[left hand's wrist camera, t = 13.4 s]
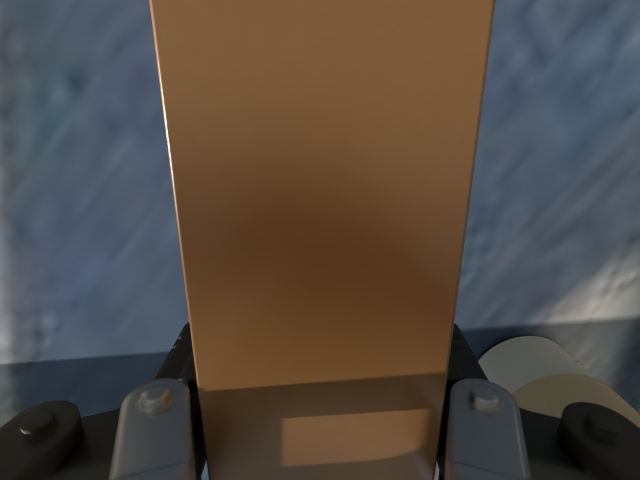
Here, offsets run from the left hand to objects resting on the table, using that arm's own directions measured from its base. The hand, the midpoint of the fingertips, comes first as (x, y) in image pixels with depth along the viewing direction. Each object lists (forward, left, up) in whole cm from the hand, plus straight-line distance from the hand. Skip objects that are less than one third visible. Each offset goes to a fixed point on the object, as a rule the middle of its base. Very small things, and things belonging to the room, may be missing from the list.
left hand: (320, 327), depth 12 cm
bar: (-7, +22, -2) cm, 23 cm away
